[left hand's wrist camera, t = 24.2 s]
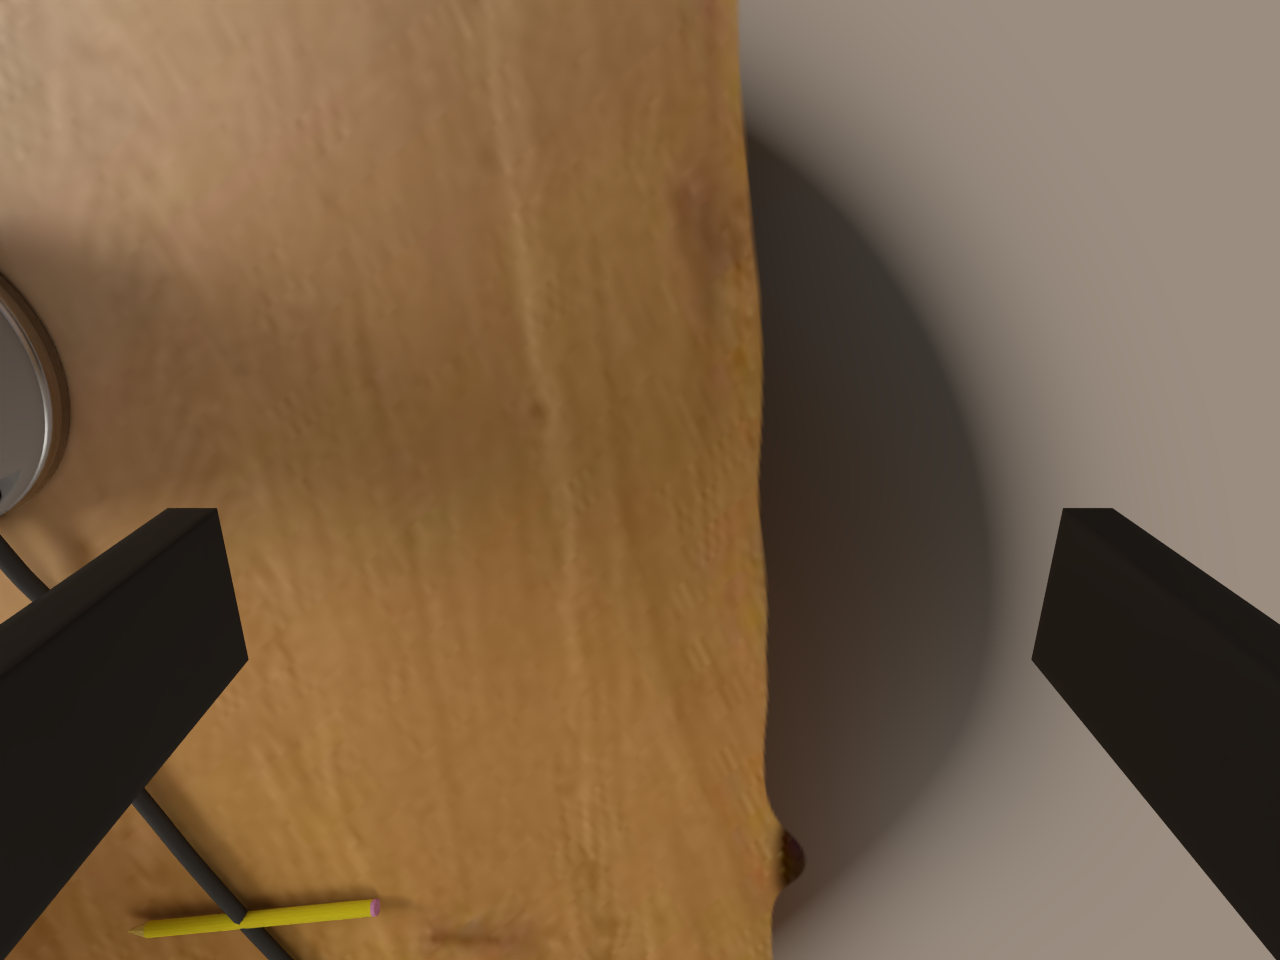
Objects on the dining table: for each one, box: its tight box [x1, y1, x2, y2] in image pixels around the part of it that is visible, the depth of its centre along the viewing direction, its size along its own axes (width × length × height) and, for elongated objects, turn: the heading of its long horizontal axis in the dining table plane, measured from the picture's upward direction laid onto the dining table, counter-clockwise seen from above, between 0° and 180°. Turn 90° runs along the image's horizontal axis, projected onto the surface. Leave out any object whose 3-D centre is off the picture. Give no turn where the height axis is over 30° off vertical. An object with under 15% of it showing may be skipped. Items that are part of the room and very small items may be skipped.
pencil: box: [126, 899, 380, 938], centre depth 50 cm, size 16×1×1 cm, turn 97°
